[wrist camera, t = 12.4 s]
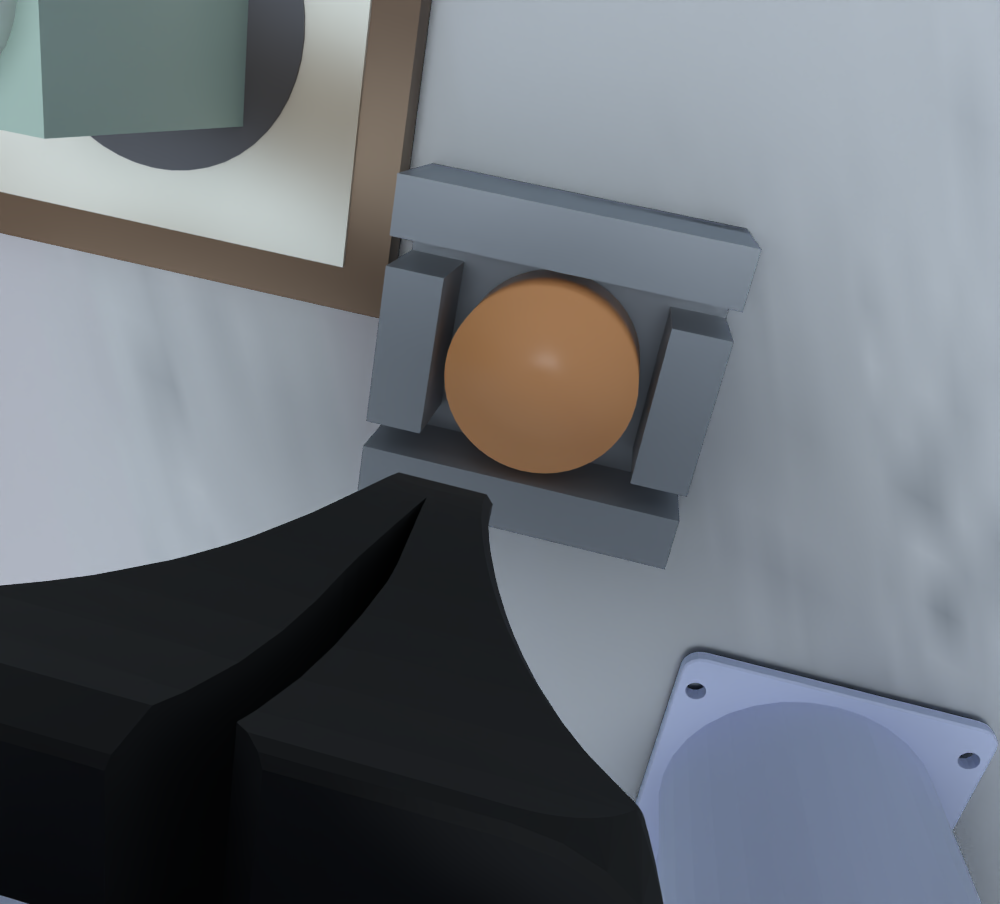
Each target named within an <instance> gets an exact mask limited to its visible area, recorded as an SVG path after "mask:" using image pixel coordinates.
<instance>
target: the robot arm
mask: <svg viewBox="0 0 1000 904" xmlns="http://www.w3.org/2000/svg"><path fill="white" fill-rule="evenodd" d="M492 506H493V504H492V502H491V500H490V499H489V497H488V496H487V494H484V493H480V492H476V491H472V490H468V489H464V488H460V487H456V486H452V485H448V484H444V483H440V482H436V481H432V480H428V479H424V478H420V477H416V476H412V475H408V474H404V473H400V472H398V473H395V474H393V475H390V476H388V477H386V478H384V479H382V480H380V481H378V482H376V483H374V484H371V485H369V486H367V487H365V488H363V489H361V490H359V491H357V492H355V493H353V494H351V495H349V496H347V497H345V498H343V499H340V500H338V501H336V502H334V503H332V504H330V505H328V506H325V507H323V508H321V509H319V510H317V511H315V512H312V513H310V514H308V515H305V516H303V517H300V518H298V519H295V520H293V521H290V522H288V523H285V524H283V525H280V526H278V527H275V528H272V529H270V530H267V531H265V532H262V533H260V534H257V535H255V536H252V537H249V538H246V539H243V540H240V541H237V542H234V543H231V544H228V545H225V546H221V547H218V548H214V549H211V550H207V551H204V552H200V553H196V554H193V555H189V556H185V557H181V558H177V559H173V560H169V561H164V562H159V563H154V564H148V565H143V566H138V567H133V568H128V569H123V570H118V571H112V572H107V573H102V574H97V575H90V576H83V577H75V578H68V579H60V580H52V581H43V582H33V583H23V584H12V585H2V586H0V904H982V903H981V901H980V898H979V896H978V893H977V891H976V888H975V886H974V883H973V881H972V878H971V876H970V873H969V871H968V868H967V866H966V863H965V861H964V858H963V856H962V854H961V851H960V849H959V846H958V844H957V841H956V839H955V836H954V834H953V829H954V827H955V825H956V823H957V822H958V820H959V818H960V816H961V814H962V812H963V811H964V809H965V807H966V805H967V803H968V801H969V799H970V798H971V796H972V794H973V792H974V790H975V788H976V787H977V785H978V783H979V781H980V779H981V777H982V776H983V774H984V772H985V770H986V768H987V766H988V764H989V763H990V761H991V759H992V757H993V755H994V753H995V752H996V750H997V746H998V742H997V738H996V736H995V734H994V732H993V730H992V729H991V728H990V727H989V726H988V725H987V724H985V723H983V722H980V721H976V720H973V719H969V718H965V717H961V716H957V715H953V714H949V713H945V712H941V711H937V710H933V709H929V708H925V707H921V706H917V705H913V704H909V703H905V702H901V701H897V700H893V699H889V698H885V697H881V696H877V695H873V694H869V693H865V692H861V691H857V690H853V689H849V688H845V687H841V686H837V685H833V684H829V683H825V682H821V681H817V680H813V679H809V678H806V677H802V676H798V675H794V674H790V673H786V672H782V671H778V670H774V669H770V668H766V667H762V666H758V665H754V664H750V663H746V662H742V661H738V660H734V659H730V658H726V657H722V656H718V655H714V654H710V653H706V652H695V653H691V654H689V655H688V656H686V657H685V658H684V660H683V661H682V663H681V666H680V669H679V672H678V675H677V678H676V681H675V684H674V687H673V690H672V693H671V696H670V699H669V702H668V705H667V708H666V711H665V714H664V718H663V721H662V724H661V727H660V730H659V733H658V736H657V739H656V742H655V745H654V748H653V751H652V754H651V757H650V760H649V763H648V766H647V769H646V772H645V775H644V778H643V781H642V784H641V787H640V790H639V793H638V796H637V800H636V803H635V802H634V801H633V800H632V799H631V798H630V797H629V796H628V795H627V794H626V793H625V792H624V791H623V790H622V789H621V788H620V787H619V786H618V785H617V784H616V783H615V782H614V781H613V780H612V779H611V778H610V777H609V776H608V775H607V774H606V773H605V772H604V771H603V770H602V769H601V768H600V767H599V766H598V765H597V764H596V762H595V761H594V760H593V759H592V758H591V757H590V756H589V755H588V754H587V753H586V752H585V751H584V749H583V748H582V747H581V746H580V744H579V743H578V742H577V741H576V739H575V738H574V737H573V736H572V734H571V733H570V732H569V731H568V729H567V728H566V727H565V726H564V724H563V723H562V721H561V720H560V718H559V717H558V715H557V714H556V712H555V711H554V709H553V708H552V706H551V704H550V703H549V701H548V700H547V698H546V697H545V695H544V694H543V692H542V690H541V689H540V687H539V686H538V684H537V682H536V680H535V679H534V677H533V675H532V673H531V671H530V669H529V667H528V665H527V663H526V661H525V659H524V657H523V655H522V653H521V650H520V648H519V646H518V644H517V641H516V639H515V637H514V635H513V632H512V629H511V627H510V624H509V621H508V619H507V616H506V613H505V610H504V607H503V603H502V600H501V597H500V593H499V590H498V586H497V582H496V578H495V573H494V568H493V563H492V557H491V552H490V544H489V530H488V525H489V520H490V516H491V511H492ZM691 683H700V684H702V685H703V688H701V689H699V690H692V689H690V688H688V687H687V686H688V685H689V684H691ZM965 753H974V754H973V755H972V756H971V757H968V758H959V757H960V756H961V755H962V754H965Z"/></svg>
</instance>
